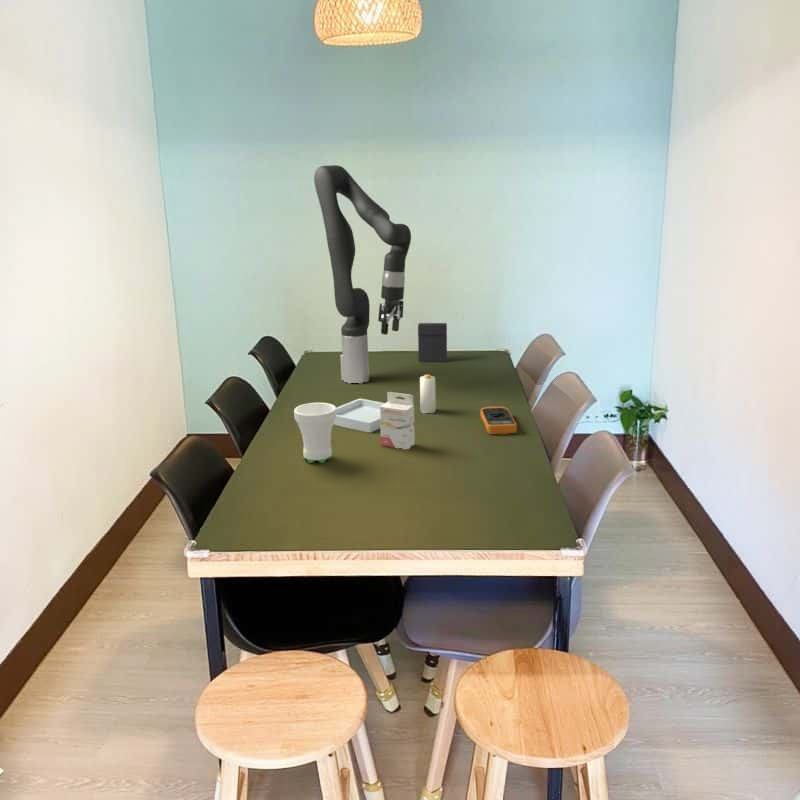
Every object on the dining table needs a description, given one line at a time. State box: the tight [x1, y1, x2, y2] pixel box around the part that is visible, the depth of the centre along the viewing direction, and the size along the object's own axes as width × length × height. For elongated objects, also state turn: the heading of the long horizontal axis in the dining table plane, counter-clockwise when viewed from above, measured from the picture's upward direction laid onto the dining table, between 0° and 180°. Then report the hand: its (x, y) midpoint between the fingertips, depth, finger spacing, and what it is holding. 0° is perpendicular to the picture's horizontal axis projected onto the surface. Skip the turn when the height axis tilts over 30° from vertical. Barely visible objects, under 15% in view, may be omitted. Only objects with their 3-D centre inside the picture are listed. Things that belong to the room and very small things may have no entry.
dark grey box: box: [417, 322, 448, 363], centre depth 308 cm, size 11×4×15 cm, turn 84°
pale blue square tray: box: [333, 398, 386, 434], centre depth 243 cm, size 18×18×3 cm
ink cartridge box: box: [380, 391, 416, 450], centre depth 218 cm, size 9×5×15 cm, turn 65°
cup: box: [293, 402, 337, 464], centre depth 210 cm, size 11×11×14 cm
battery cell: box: [419, 374, 437, 414], centre depth 248 cm, size 5×5×12 cm
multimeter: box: [480, 406, 518, 435], centre depth 235 cm, size 9×18×3 cm, turn 2°
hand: (389, 332), depth 267 cm, fingers open, 8 cm apart
